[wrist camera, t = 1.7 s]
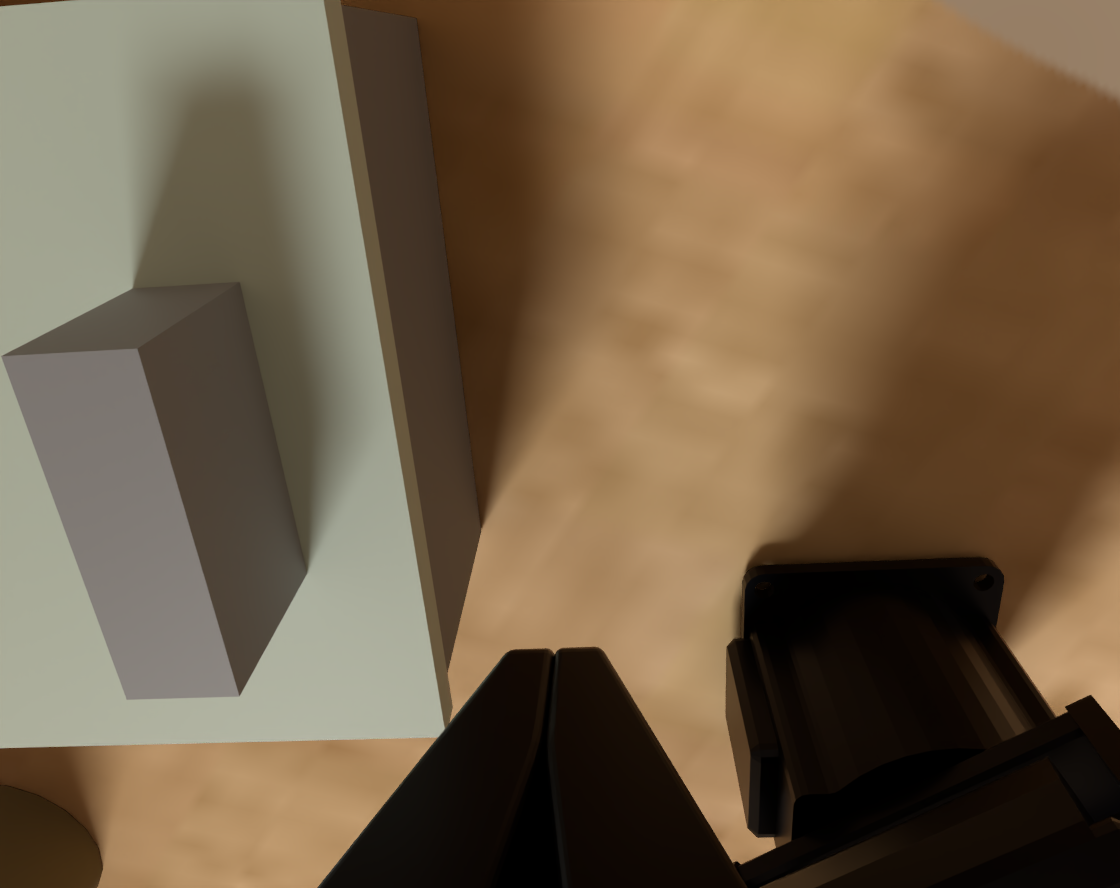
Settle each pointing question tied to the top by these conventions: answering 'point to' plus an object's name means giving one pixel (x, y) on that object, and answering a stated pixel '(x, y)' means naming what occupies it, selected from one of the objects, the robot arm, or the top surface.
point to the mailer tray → (418, 293)
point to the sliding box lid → (200, 389)
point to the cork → (43, 845)
